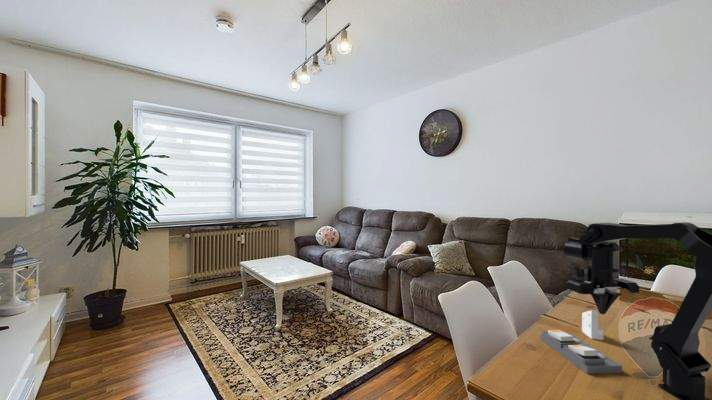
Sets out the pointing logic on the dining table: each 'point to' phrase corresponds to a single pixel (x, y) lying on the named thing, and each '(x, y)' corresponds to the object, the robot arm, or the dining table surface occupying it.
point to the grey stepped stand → (583, 362)
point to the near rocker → (583, 350)
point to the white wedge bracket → (592, 325)
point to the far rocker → (560, 335)
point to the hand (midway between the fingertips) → (602, 313)
